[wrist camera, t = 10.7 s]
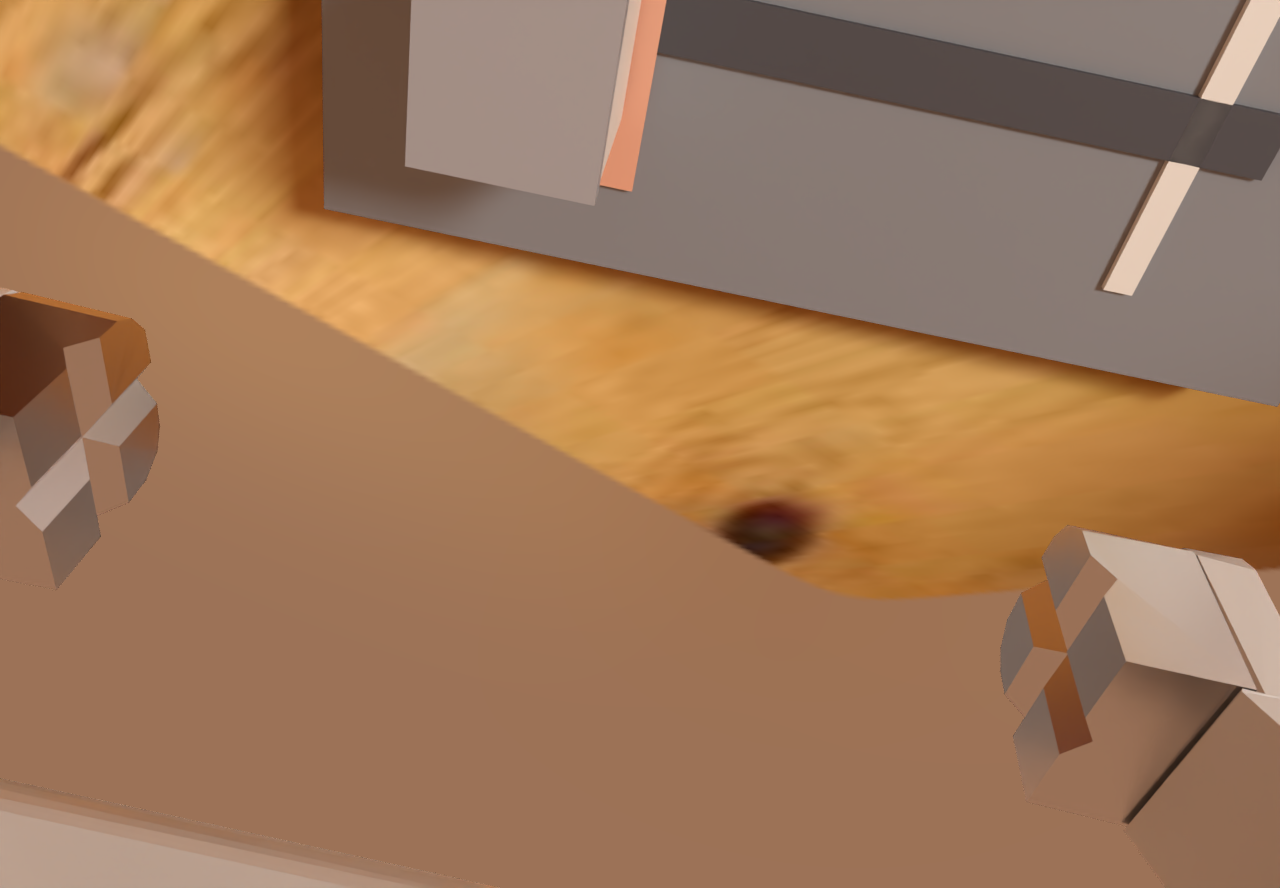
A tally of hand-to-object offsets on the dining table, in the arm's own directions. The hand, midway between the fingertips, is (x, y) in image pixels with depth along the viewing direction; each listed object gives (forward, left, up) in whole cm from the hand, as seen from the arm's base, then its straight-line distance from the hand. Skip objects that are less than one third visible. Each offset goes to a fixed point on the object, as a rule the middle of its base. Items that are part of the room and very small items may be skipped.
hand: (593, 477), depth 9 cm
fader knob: (+3, +1, -19) cm, 19 cm away
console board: (-5, +1, -22) cm, 22 cm away
